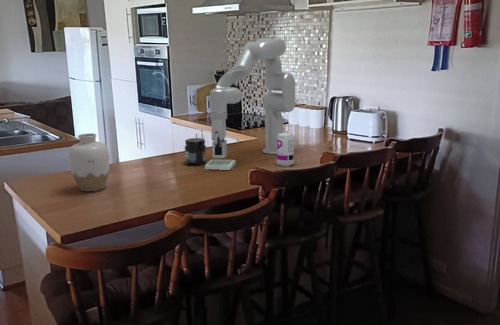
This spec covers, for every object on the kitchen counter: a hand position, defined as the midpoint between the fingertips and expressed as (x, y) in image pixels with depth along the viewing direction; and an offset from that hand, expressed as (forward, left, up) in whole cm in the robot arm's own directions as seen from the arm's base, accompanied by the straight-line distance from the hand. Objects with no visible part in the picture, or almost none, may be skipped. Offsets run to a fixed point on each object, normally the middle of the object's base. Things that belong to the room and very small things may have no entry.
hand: (220, 153), depth 230 cm
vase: (+40, -45, -7) cm, 61 cm away
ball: (-1, 0, +6) cm, 6 cm away
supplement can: (-9, +30, -7) cm, 32 cm away
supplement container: (-6, -14, -7) cm, 17 cm away
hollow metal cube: (0, 0, -2) cm, 2 cm away
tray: (0, 0, -7) cm, 7 cm away
